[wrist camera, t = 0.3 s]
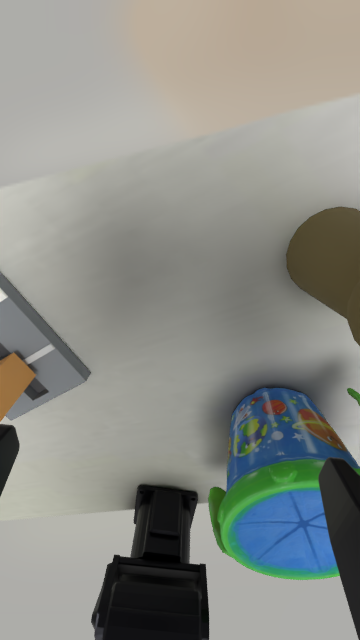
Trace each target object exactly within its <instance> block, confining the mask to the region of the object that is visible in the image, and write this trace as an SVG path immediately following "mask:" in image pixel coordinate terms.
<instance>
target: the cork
mask: <svg viewBox="0 0 360 640" xmlns="http://www.w3.org/2000/svg"><path fill="white" fill-rule="evenodd" d="M286 258H287V269H288V272H289V274H290V276H291V279H292V280H293V281H294V282H295V283H296V284H297V285H298V286H299V287H300V288H301V289H302V290H304V291H305V292H307V293H308V294H310V295H311V296H313V297H314V298H316V299H317V300H319V301H320V302H322V303H323V304H325V305H326V306H328V307H329V308H331V309H333V310H334V311H336V312H337V313H339V314H340V315H342V316H343V317H345V318H346V319H347V320H348V323H349V326H350V329H351V332H352V335H353V337H354V340H355V341H356V342H357V343H358V345H359V346H360V211H358V210H357V209H354V208H346V207H336V208H331V209H325V210H323V211H321V212H319V213H317V214H315V215H313V216H311V217H310V218H309V219H308V220H307V221H306V222H304V223H303V224H302V225H301V226H300V227H299V228H298V229H297V231H296V233H295V234H294V236H293V237H292V239H291V241H290V244H289V247H288V251H287V254H286Z"/></svg>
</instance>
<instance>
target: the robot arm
mask: <svg viewBox="0 0 360 640" xmlns="http://www.w3.org/2000/svg"><path fill="white" fill-rule="evenodd" d="M18 451H19V440H18V437H17V433H16V429H15V427H14V426H13V425H5V424H0V496H1V494H2V491H3V489H4V486H5V484H6V481H7V479H8V476H9V474H10V471H11V469H12V466H13V464H14V462H15V459H16V457H17V454H18ZM318 481H319V487H320V492H321V498H322V503H323V508H324V513H325V518H326V524H327V529H328V534H329V538H330V543H331V546H332V550H333V554H334V557H335V560H336V564H337V567H338V571H339V574H340V577H341V581H342V584H343V587H344V591H345V594H346V598H347V601H348V605H349V608H350V611H351V614H352V618H353V622H354V625H355V628H356V632H357V635H358V638H359V640H360V475H359V474H358V473H357V472H356V471H355V470H354V469H353V468H352V467H351V466H350V465H349V464H348V463H347V462H346V461H345V460H344V459H342V458H335V457H328V458H327V459H326V461H325V463H324V465H323V467H322V469H321V471H320V473H319V477H318ZM197 501H198V495H197V494H196V493H192V492H185V491H178V490H171V489H163V488H156V487H149V486H139V487H138V490H137V497H136V506H135V516H134V524H136V528H135V534H134V539H133V545H132V551H131V557H121V556H120V555H114V558H113V562H112V563H110V564H108V565H107V569H106V574H105V578H104V582H103V586H102V589H101V592H100V594H99V597H98V600H97V603H96V606H95V608H94V611H93V614H92V619H91V623H92V625H93V627H94V629H95V640H209V608H208V592H207V578H206V564H200V565H198V564H189V557H190V528H191V524H192V520H193V516H194V513H195V509H196V505H197Z"/></svg>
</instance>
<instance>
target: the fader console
mask: <svg viewBox="0 0 360 640" xmlns="http://www.w3.org/2000/svg"><path fill="white" fill-rule="evenodd" d="M13 352H14V353H15V354H16V355H17V356H18V357H19V358H20V359H21V360H22V361H23V362H24V363H25V364H26V365H27V366H28V367H29V368H30V369H31V370H32V371H33V372H34V373H35V374H36V376H35V377H34V379H33V380H32V381H31V382H30V384H29V385H28V386H27V388H26V389H25V390H24V392H23V393H22V394H21V395H20V397H19V398H18V399H17V401H16V402H15V403H14V405H13V406H12V407H11V408H10V410H9V411H8V412H7V414H6V415H5V416H6V417H7V418H8V419H10V420H13V419H15V418H17V417H19V416H21V415H23V414H25V413H27V412H29V411H30V410H32V409H34V408H36V407H38V406H40V405H42V404H44V403H46V402H48V401H49V400H51V399H53V398H55V397H57V396H59V395H61V394H63V393H65V392H66V391H68V390H70V389H72V388H74V387H76V386H78V385H80V384H82V383H84V382H85V381H86V380H87V378H88V377H89V375H90V373H91V372H90V371H89V370H88V369H87V368H86V367H85V366H84V365H83V363H82V362H81V361H80V360H79V359H78V358H77V357H76V356H75V355H74V353H73V352H72V351H71V350H70V349H69V348H68V347H67V346H66V345H65V343H64V342H63V341H62V340H61V339H60V338H59V337H58V336H57V335H56V333H55V332H54V331H53V330H52V329H51V328H50V327H49V326H48V324H47V323H46V322H45V321H44V320H43V319H42V318H41V317H40V316H39V314H38V313H37V312H36V311H35V310H34V309H33V308H32V307H31V306H30V304H29V303H28V302H27V301H26V300H25V299H24V298H23V297H22V296H21V294H20V293H19V292H18V291H17V290H16V289H15V288H14V287H13V286H12V284H11V283H10V282H9V281H8V280H7V279H6V278H5V277H4V276H3V274H2V273H1V272H0V360H2V359H4V358H5V357H7V356H9V355H10V354H12V353H13Z"/></svg>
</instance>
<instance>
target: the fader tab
mask: <svg viewBox="0 0 360 640" xmlns="http://www.w3.org/2000/svg"><path fill="white" fill-rule="evenodd" d="M35 376H36V374H35V373H34V372H33V371H32V370H31V369H30V368H29V367H28V366H27V365H26V364H25V363H24V362H23V361H22V360H21V359H20V358H19V357H18V356H17V355H16V354H15V353H14V352H13V353H12V354H10V355H9V356H7V357H5V358H4V359H2V360H0V421H1V420H2V419H3V418H4V416H5V415H6V414H7V412H8V411H9V410H10V408H11V407H12V406H13V405H14V403H15V402H16V401H17V399H18V398H19V397H20V395H21V394H22V393H23V392H24V390H25V389H26V388H27V386H28V385H29V384H30V382H31V381H32V380H33V379H34V377H35Z"/></svg>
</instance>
